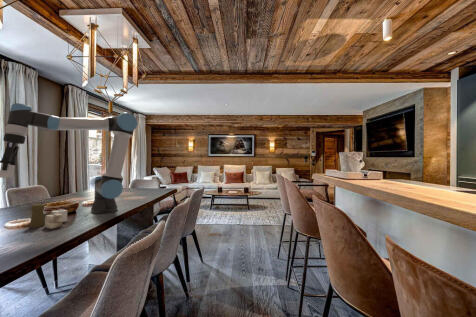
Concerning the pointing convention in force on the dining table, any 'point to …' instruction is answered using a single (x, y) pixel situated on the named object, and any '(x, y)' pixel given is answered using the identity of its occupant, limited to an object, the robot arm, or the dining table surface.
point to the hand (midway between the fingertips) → (5, 177)
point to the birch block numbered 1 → (53, 220)
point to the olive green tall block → (37, 216)
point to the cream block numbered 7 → (64, 212)
